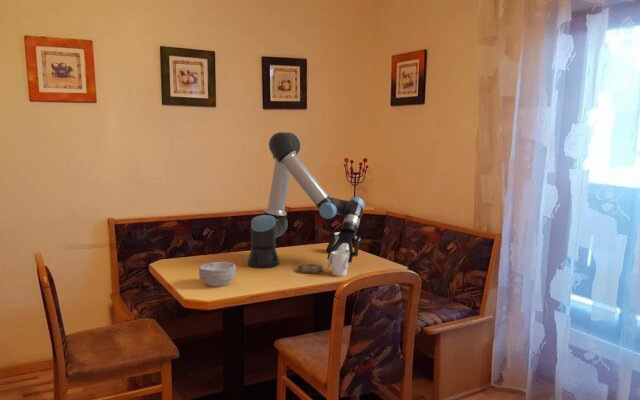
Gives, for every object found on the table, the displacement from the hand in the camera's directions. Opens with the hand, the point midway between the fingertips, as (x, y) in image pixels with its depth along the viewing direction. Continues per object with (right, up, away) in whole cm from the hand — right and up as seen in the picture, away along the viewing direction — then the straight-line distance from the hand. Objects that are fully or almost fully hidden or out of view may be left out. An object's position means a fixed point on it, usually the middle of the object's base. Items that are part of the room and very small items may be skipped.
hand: (336, 266), depth 233 cm
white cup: (+1, -4, +4) cm, 6 cm away
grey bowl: (-51, -6, -14) cm, 53 cm away
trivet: (-12, -3, +9) cm, 15 cm away
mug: (+5, +1, +44) cm, 45 cm away
